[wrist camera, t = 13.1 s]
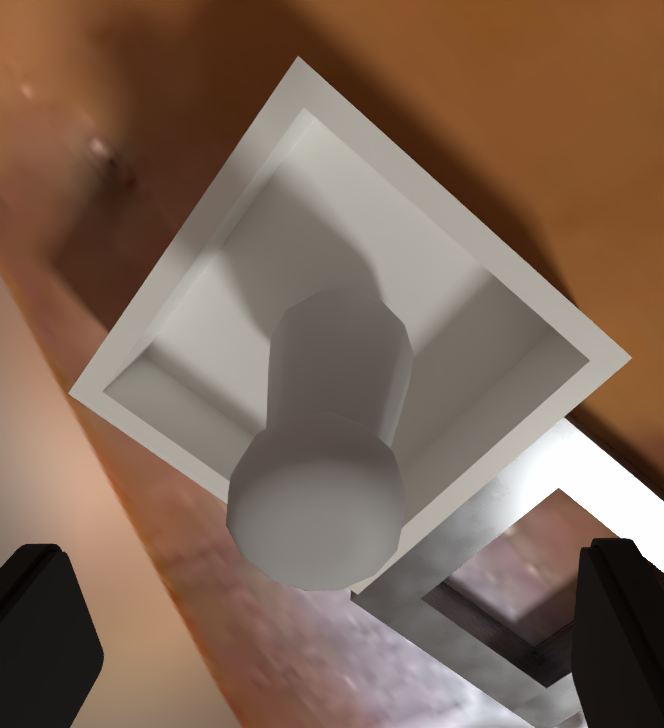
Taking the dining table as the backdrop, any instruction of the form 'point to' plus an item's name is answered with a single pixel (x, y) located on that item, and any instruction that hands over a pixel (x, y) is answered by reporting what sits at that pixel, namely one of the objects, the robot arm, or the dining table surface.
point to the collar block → (481, 526)
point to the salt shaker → (326, 446)
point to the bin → (333, 272)
